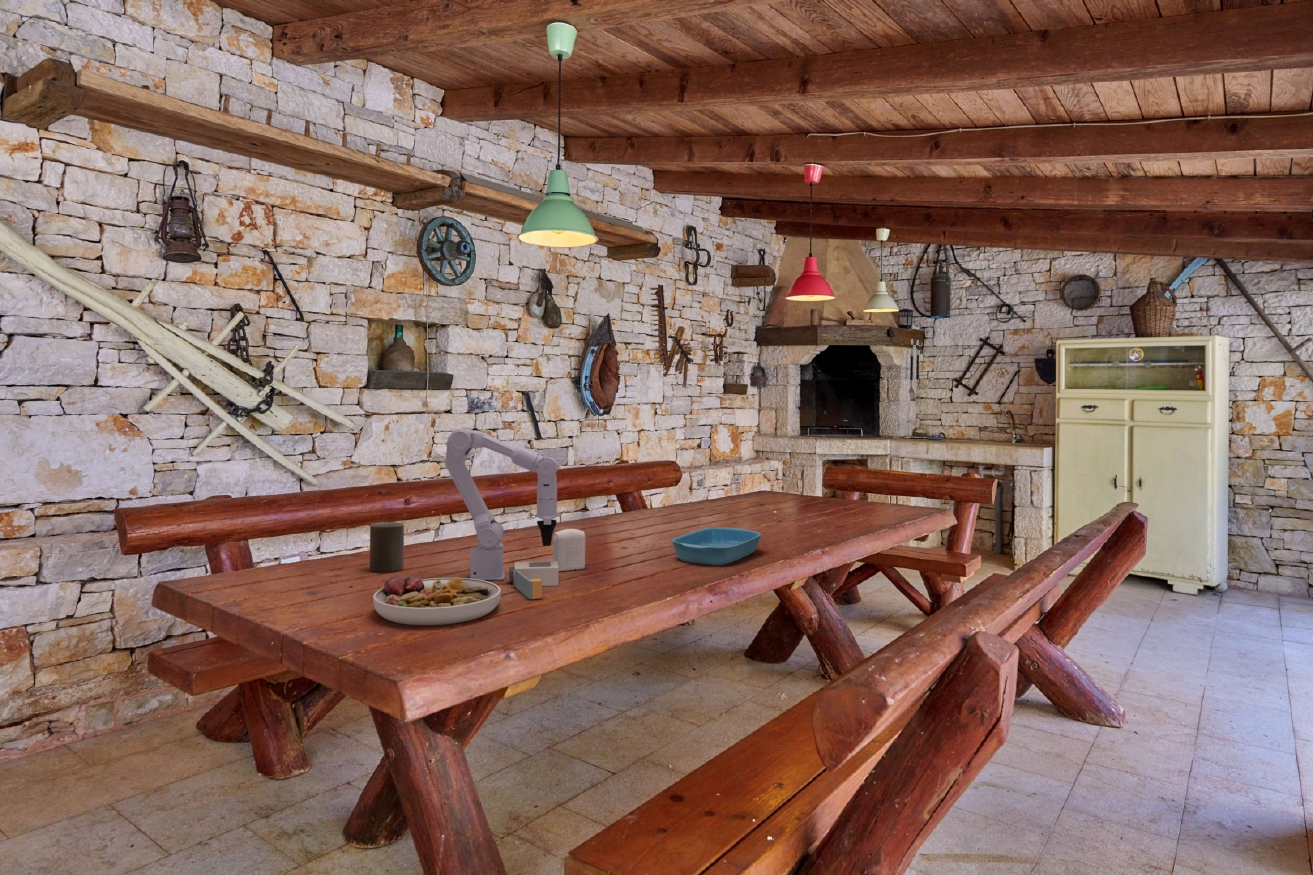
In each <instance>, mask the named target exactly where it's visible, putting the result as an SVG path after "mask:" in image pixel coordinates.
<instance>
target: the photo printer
mask: <svg viewBox="0 0 1313 875" xmlns="http://www.w3.org/2000/svg"><path fill="white" fill-rule="evenodd" d="M552 561H557V563H558V572H566V571H575V569H576V570H584V569H585V568H586V533H585V532H584V531H583V530H581V529H577V528H566V529H562V530H559V531H557V532H555V533H553V535H552Z"/></svg>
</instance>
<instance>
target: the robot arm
mask: <svg viewBox="0 0 1313 875" xmlns="http://www.w3.org/2000/svg"><path fill="white" fill-rule="evenodd" d="M445 444H446V451H445V454H446V455H445V467H446V469H447V471H448V473H449V474H450V477H451V478H452V480H453V483H454V485H455V486H456V488H457V490H458V493H459V494H460V496H461V498H462V500H463V502H464V505H465V506H466V508H467V510H468V513H469V514H470V516H471V518H472V521H473V526H474V529H475V532H476V540H477V543H478V544H477V546H475V547H471V548H470V554H469V555H470V557H469V558H470V559H469V560H470V563H469V565H470V566H469V575H470V576H469V577H470V578H469V579H478V580H483V581H497V580H499V581H500V580H502V581H504V580H505V577H506V572H505V571H504V544H503V543H502V541H501V540H502V539H503V537H504V534H505V530H504V527H503V526H502V524H501V523H499V522H498V521H497V520H496V518H495V516H494V515H493V514H492V513H491V512H490V511H489V509H488V507H487V504H486V503H485V501H484V499H483V497H482V495H481V492H480V491H479V489H478V487H477V485H476V482H475V481H474V479H473V477H472V475H471V473H470V471H469V469H468V467H467V465H466V461H467V459H468V457H469V456H468V455H469V453H471V451H472V449H479V448H480V449H481V448H482V449H483V448H486V449H487V450H490V451H493V452H496V453H498V454H501V455H503V456H505V457H508V458H510V460H511V461H512V464H513V465H516V466H518V467H520V468H523V469H524V470H527V471H530V472H532V473H535V472H536V474H537V483H536V491H537V492H536V515H535V518H538V519H541V520H537V521H536V524H537V526H538V528H539V533H540V537H541V543H542V546H543V547H551V545H552V542H553V536H554V530H555V529H556V525H557V524H558V523H557V519H556V518H559V517H561V516H562V514H561V512H558V482H557V481H558V480H557V479H558V478H557V477H558V476H557V474H556V473H557V472H558V469H559V468H558V467H559V466H558V462H557V460H556V459H555V458H554V457H552V456H550V455H546V454H545V453H543V452H541V453H540V452H538V451H536V450H533V449H530V448H531V447H530V446H529V445H518V446H516V447H515V446H513V445H511V444H508V443H506V442H504V441H502V440H500V439H498V438H496V437H494V436H492V435H489V434H488V433H484V432H482V431H479V430H474V429H472V428H470V427H463V428H457V429H455V430H453V431H452V432H451V433H450V435H449V437H448V439H447V441H446V443H445ZM545 455H546V456H545Z"/></svg>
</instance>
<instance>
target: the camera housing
mask: <svg viewBox="0 0 1313 875" xmlns="http://www.w3.org/2000/svg"><path fill="white" fill-rule="evenodd" d="M513 570H518V571H520V572H521V573H522V574H524V575H525V576H526V577H527V578H529V579H540V580H542V587H549V586H550V587H556V586H557V587H559V571H558V563H557V561H553V560H544V561H543V560H542V561H540V560H539V561H514V566H510V567H508V574H509V575H508V581H509V582H513Z"/></svg>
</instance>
